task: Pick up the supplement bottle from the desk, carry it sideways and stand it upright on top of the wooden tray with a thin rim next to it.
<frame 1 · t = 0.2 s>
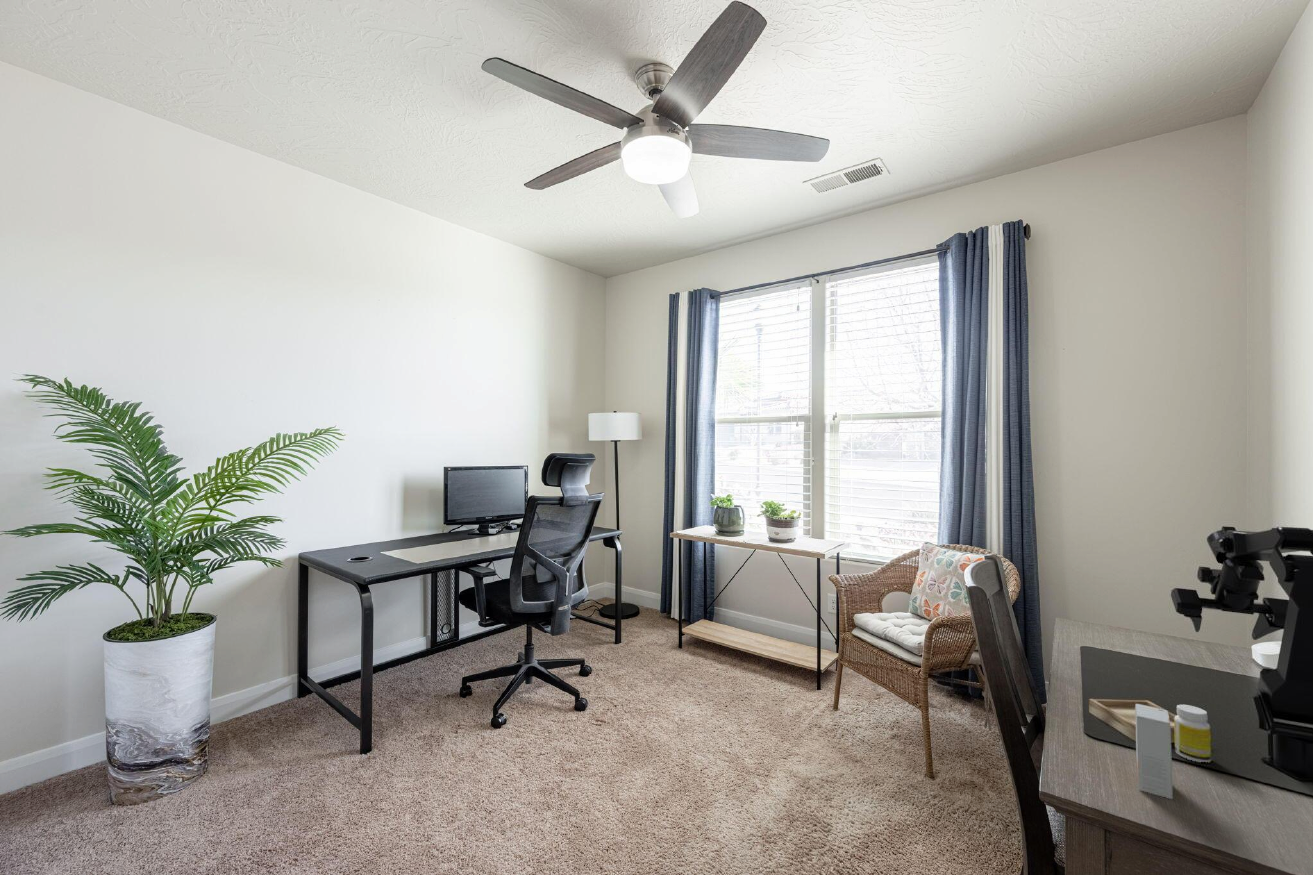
hand: (1224, 634, 124), 15 cm above the table, tool tilted 30°, fingers open, 9 cm apart
supplement bottle: (1192, 757, 101), on the table
skincare box: (1154, 788, 91), on the table
wooden tray: (1142, 729, 111), on the table
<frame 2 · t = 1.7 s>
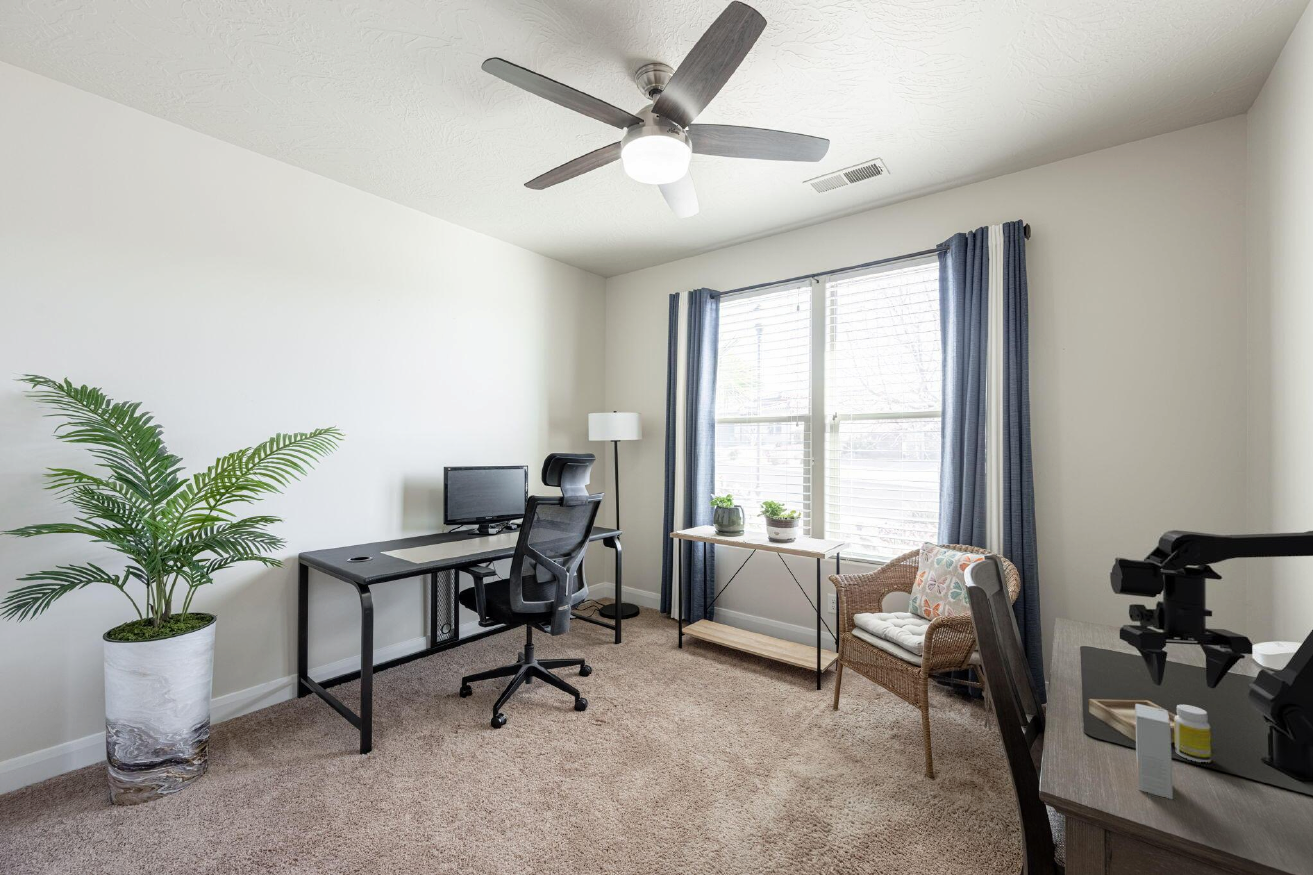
hand: (1183, 686, 102), 12 cm above the table, tool pointing down, fingers open, 9 cm apart
nothing on the table moved.
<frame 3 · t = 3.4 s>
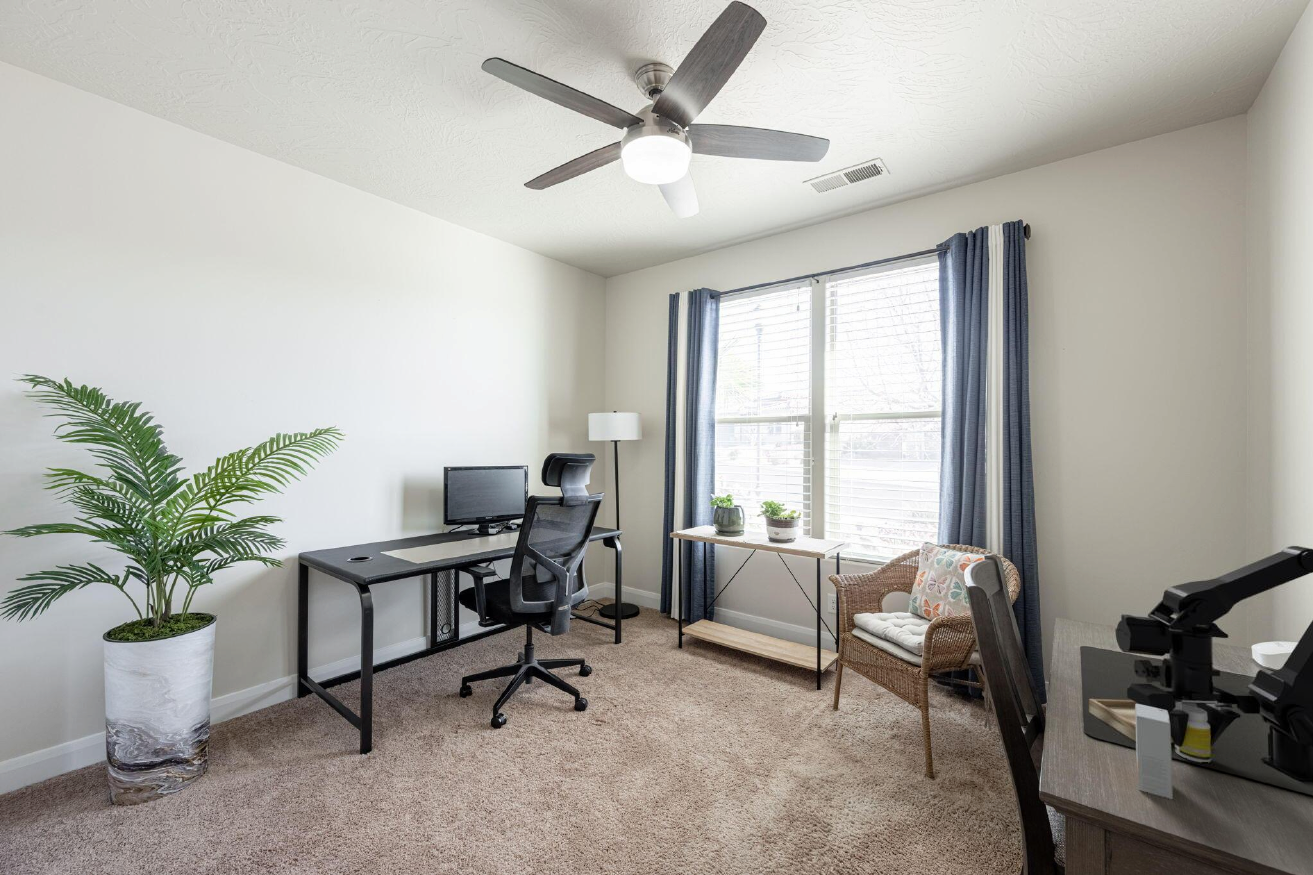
hand: (1192, 746, 101), 2 cm above the table, tool pointing down, fingers closed on supplement bottle, 5 cm apart
supplement bottle: (1192, 757, 101), on the table, touching gripper
everything else where it was.
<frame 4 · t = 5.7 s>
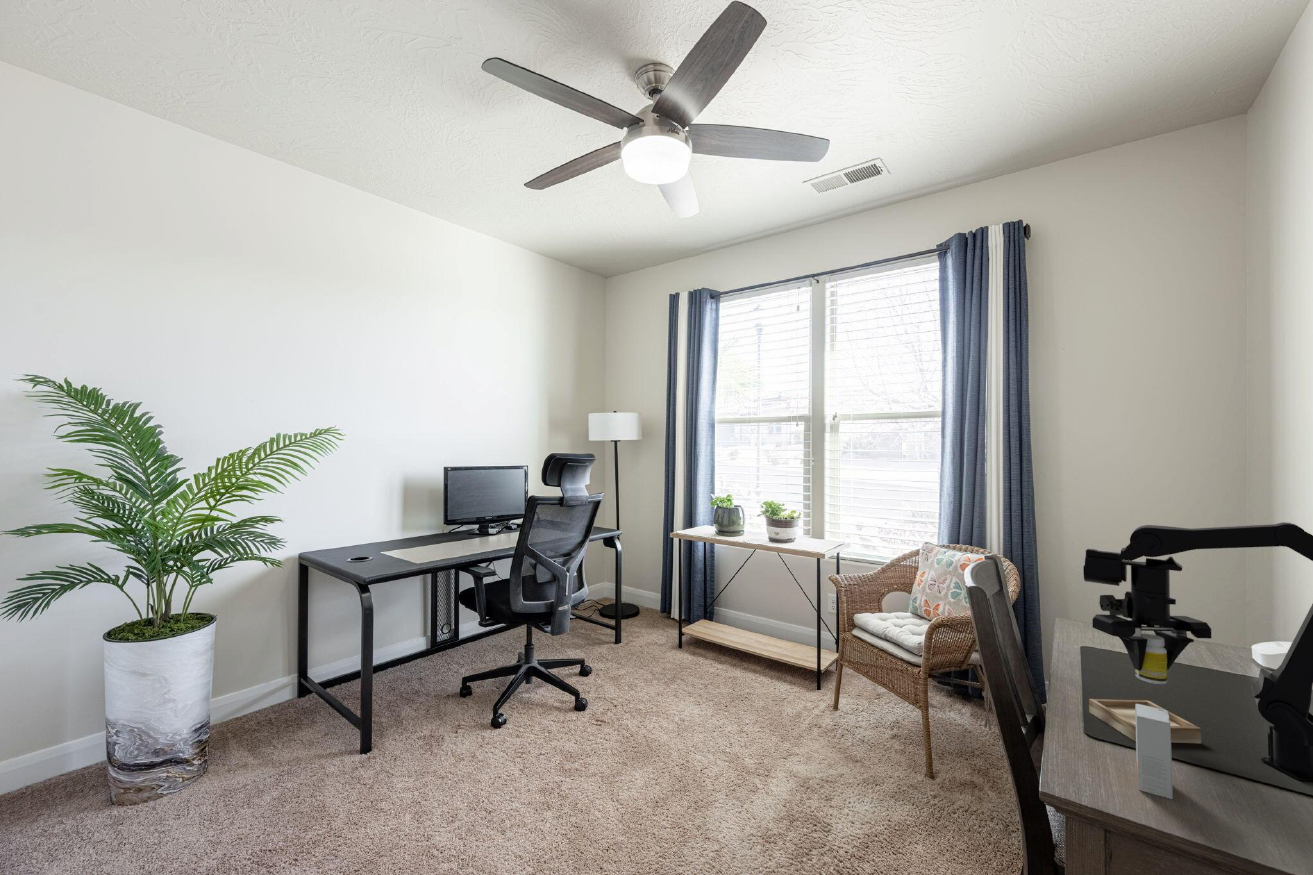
hand: (1150, 670, 109), 12 cm above the table, tool pointing down, fingers closed on supplement bottle, 5 cm apart
supplement bottle: (1151, 680, 109), point 10 cm above the table, touching gripper
everything else where it was.
when the fingers open (4 cm above the table, at t = 8.1 s): supplement bottle drops 1 cm, resting on wooden tray.
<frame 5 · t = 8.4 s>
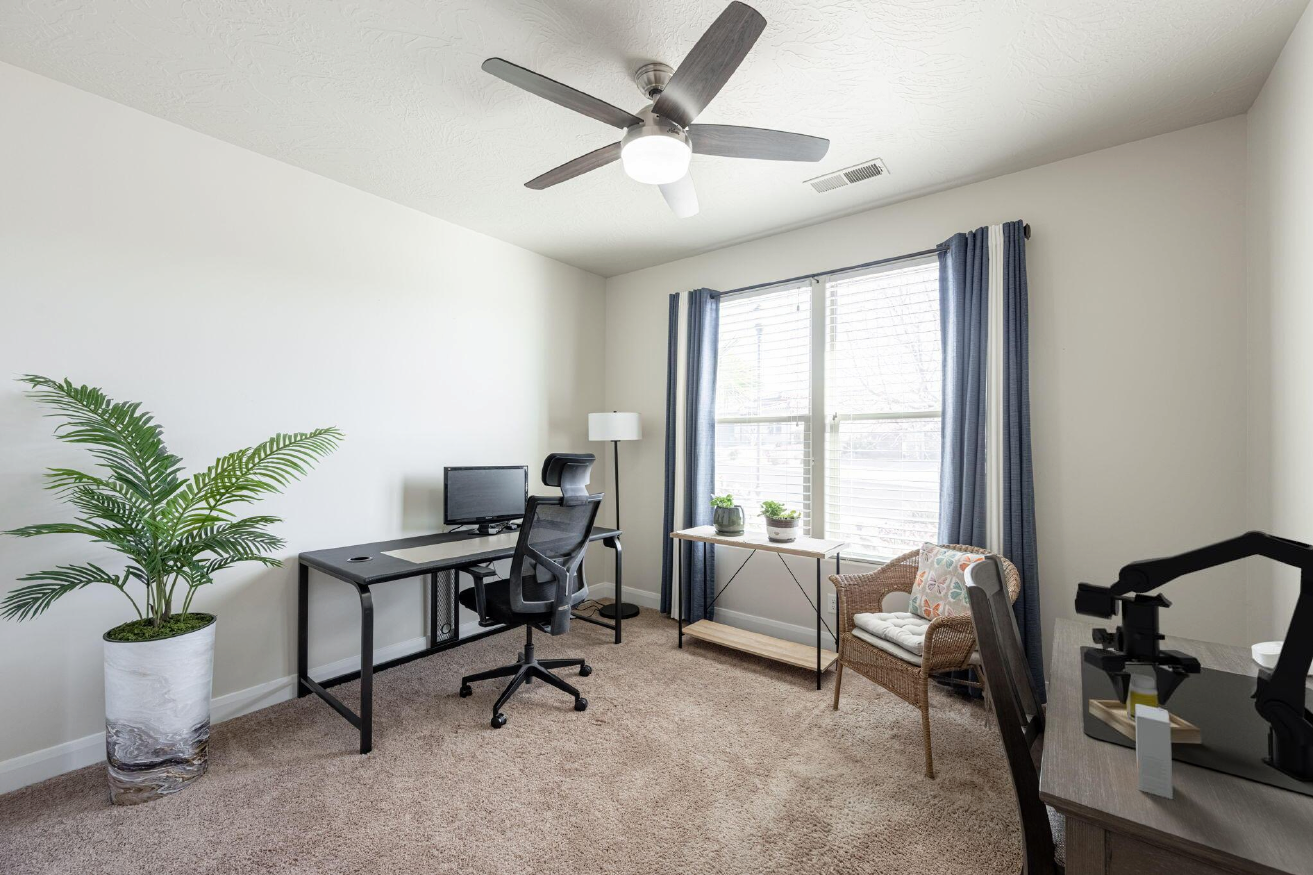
hand: (1141, 703, 112), 4 cm above the table, tool pointing down, fingers open, 7 cm apart
supplement bottle: (1142, 720, 111), point 1 cm above the table, touching wooden tray
wooden tray: (1142, 729, 111), on the table, touching supplement bottle
everything else where it was.
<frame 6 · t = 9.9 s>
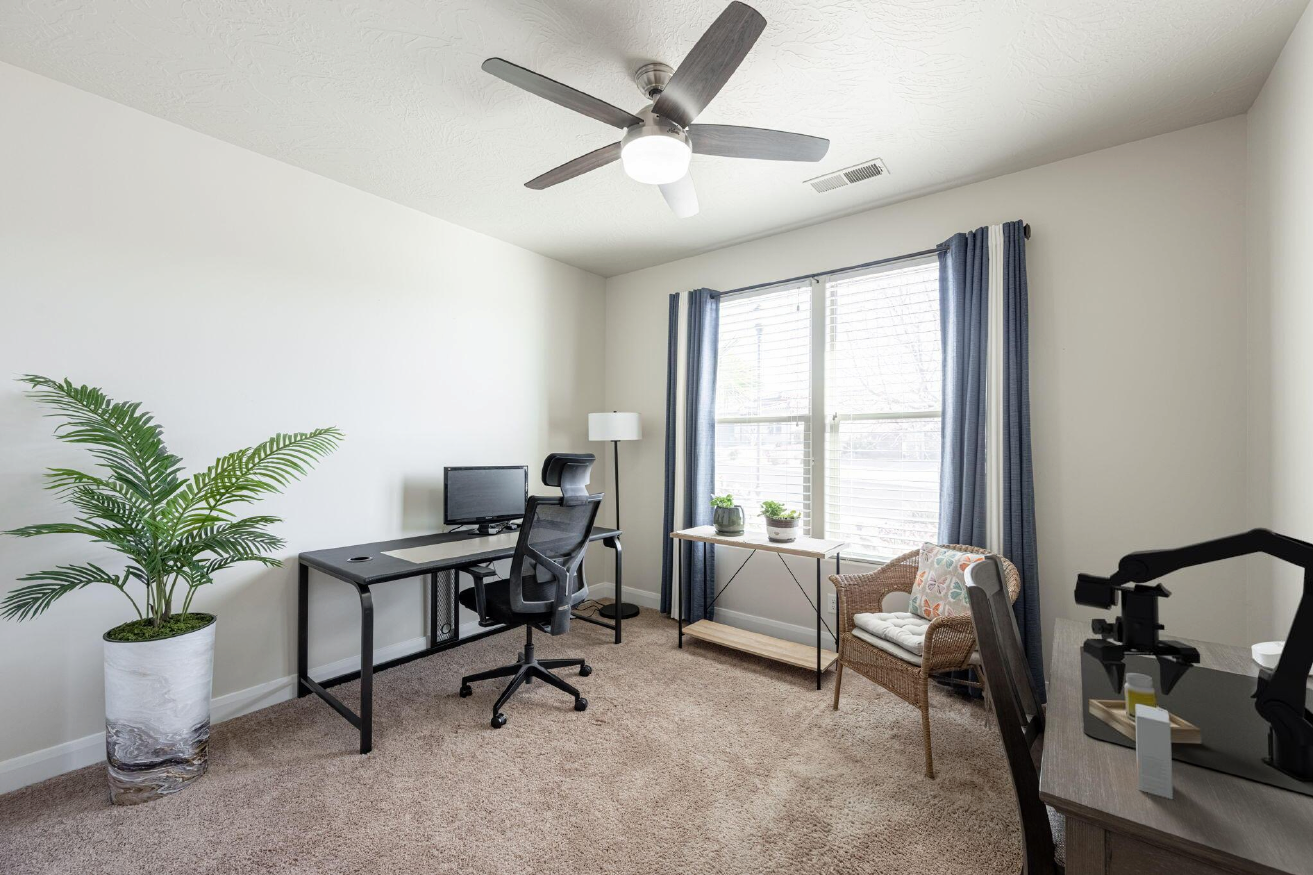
hand: (1141, 693, 112), 6 cm above the table, tool pointing down, fingers open, 9 cm apart
nothing on the table moved.
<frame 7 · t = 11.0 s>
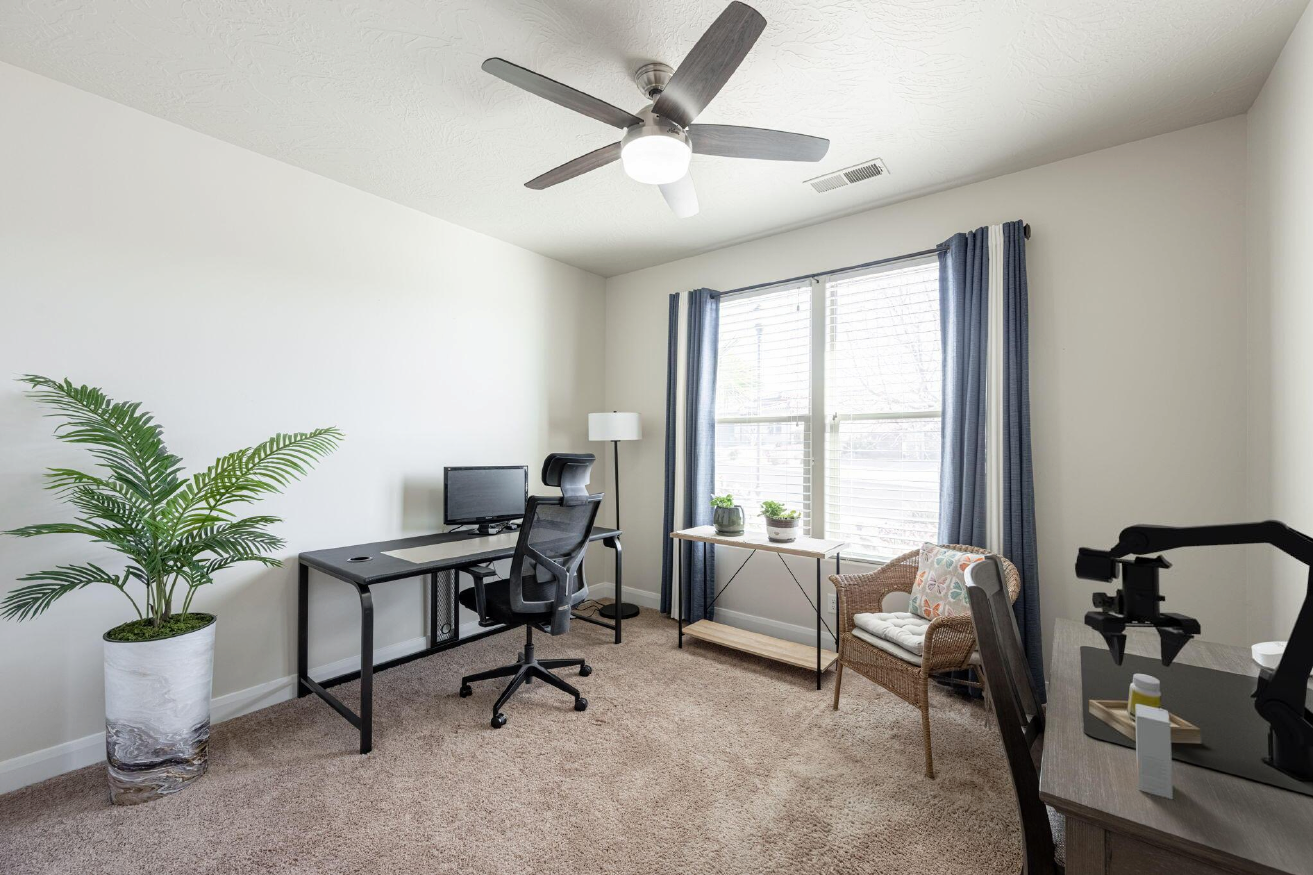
hand: (1141, 665, 112), 12 cm above the table, tool pointing down, fingers open, 9 cm apart
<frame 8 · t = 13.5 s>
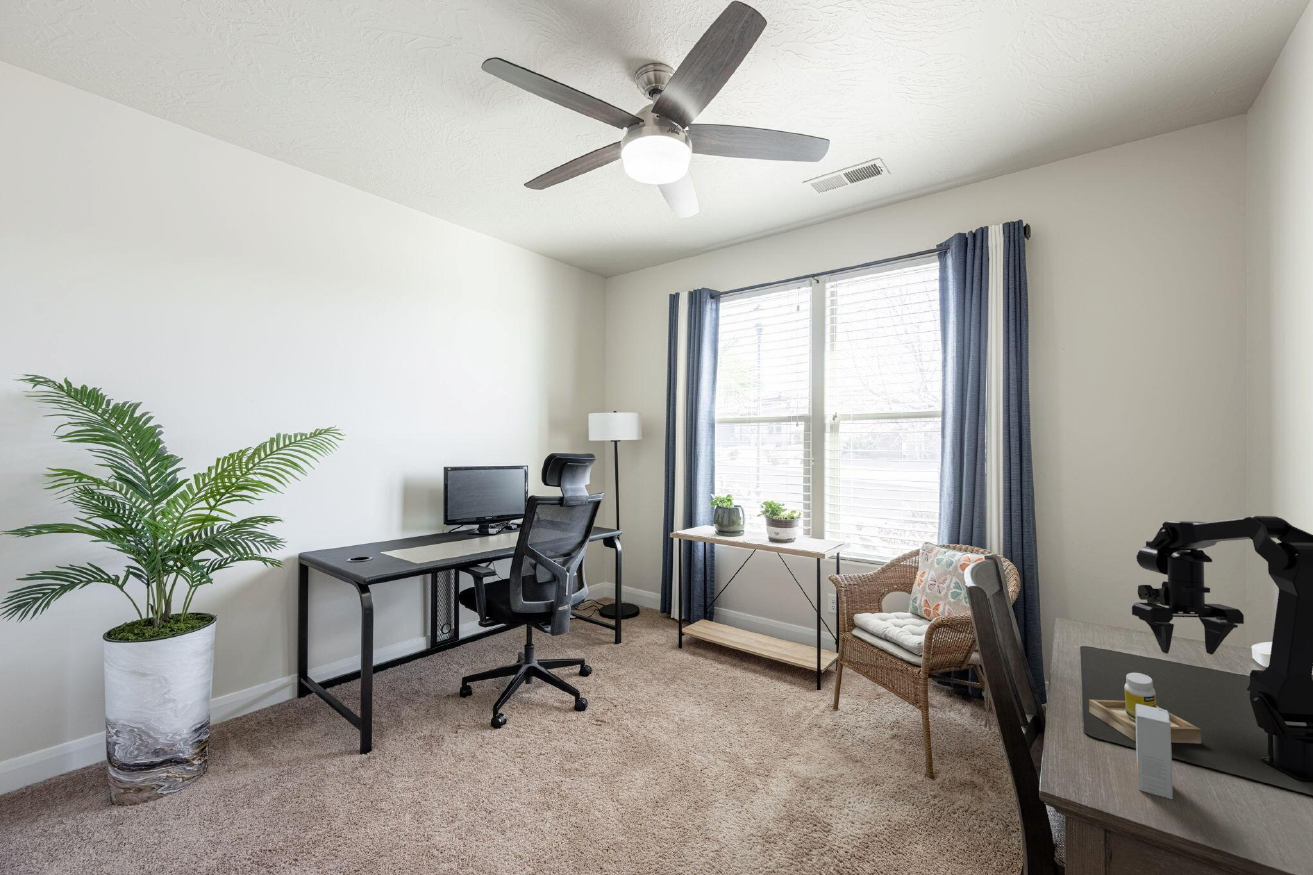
hand: (1187, 653, 119), 12 cm above the table, tool pointing down, fingers open, 9 cm apart
supplement bottle: (1141, 717, 112), point 2 cm above the table
wooden tray: (1142, 729, 111), on the table
everything else where it was.
at the end: supplement bottle inside the target area on the wooden tray (0.1 cm from its centre), point 2.4 cm above the wooden tray's base; supplement bottle tilted 13°; the gripper is holding nothing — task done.
